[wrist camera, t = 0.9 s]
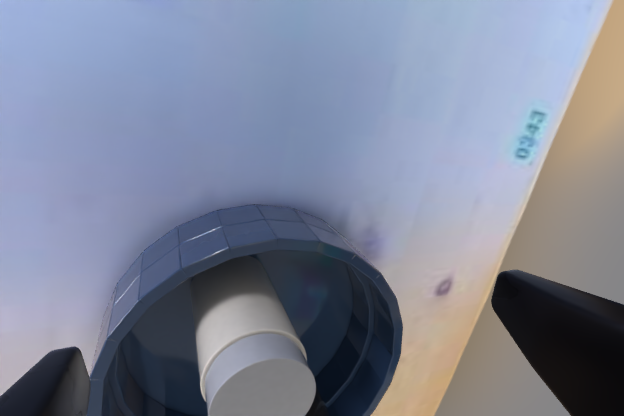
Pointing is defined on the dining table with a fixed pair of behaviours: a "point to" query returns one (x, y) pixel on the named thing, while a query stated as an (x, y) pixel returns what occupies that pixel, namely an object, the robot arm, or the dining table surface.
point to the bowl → (292, 291)
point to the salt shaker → (247, 344)
